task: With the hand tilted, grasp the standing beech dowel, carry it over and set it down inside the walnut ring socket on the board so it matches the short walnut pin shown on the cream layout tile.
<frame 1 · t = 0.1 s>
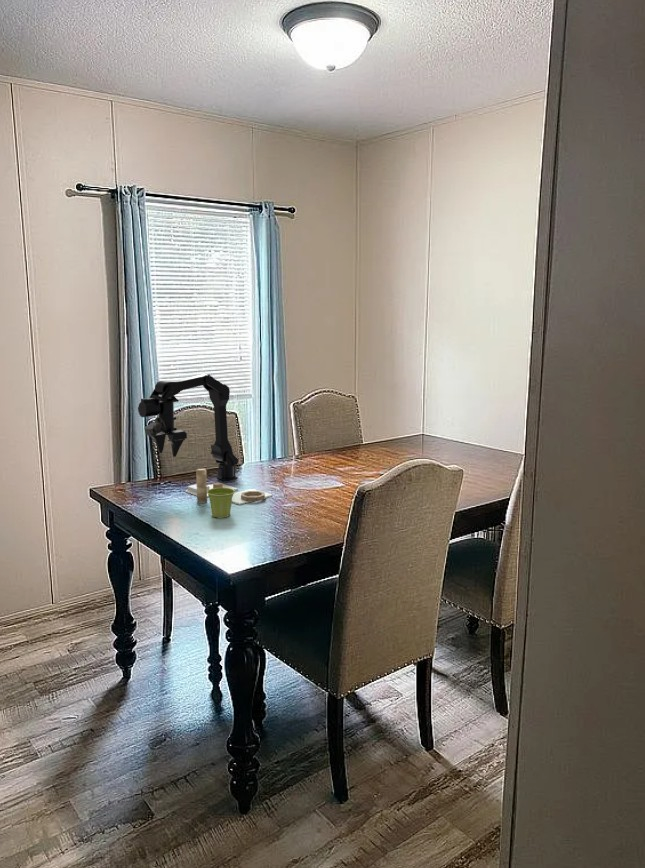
hand: (167, 454, 256), 15 cm above the table, tool pointing down, fingers open, 9 cm apart
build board: (252, 499, 250), on the table
dowel: (202, 501, 247), on the table
plant pot: (221, 516, 231), on the table
layout tile: (211, 491, 261), on the table
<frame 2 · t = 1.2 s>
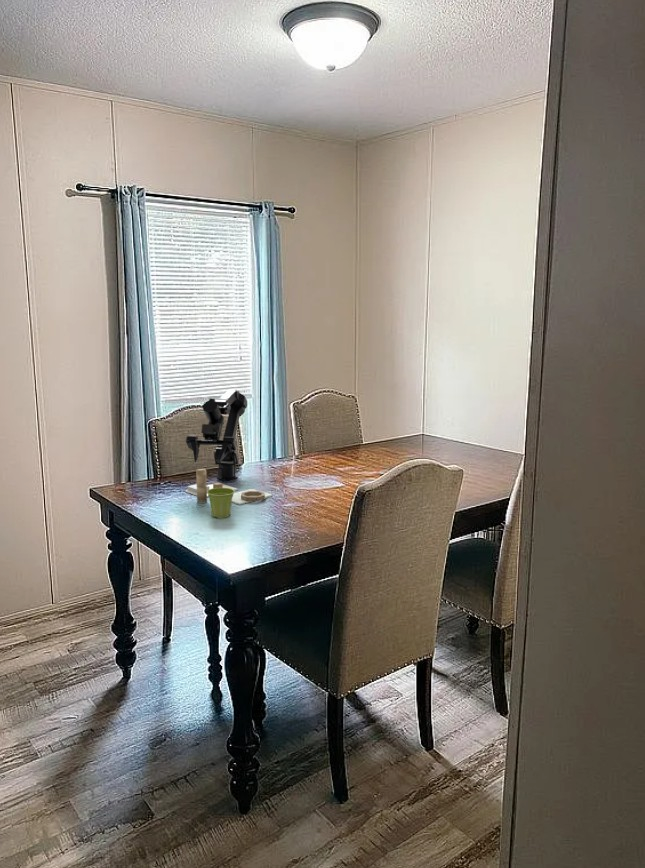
hand: (207, 461, 252), 13 cm above the table, tool tilted 45°, fingers open, 9 cm apart
nothing on the table moved.
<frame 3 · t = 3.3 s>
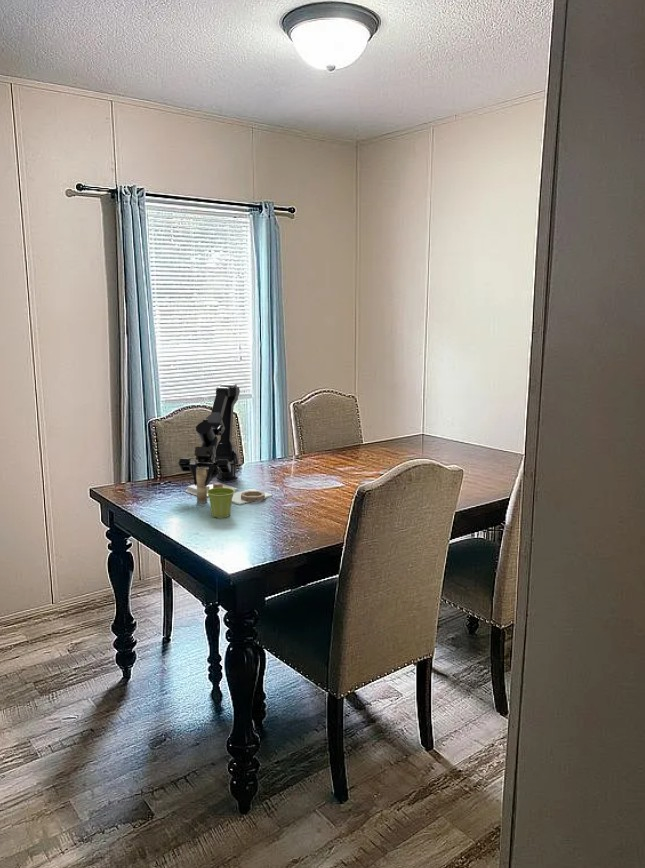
hand: (200, 485, 244), 7 cm above the table, tool tilted 45°, fingers closed on dowel, 4 cm apart
dowel: (202, 501, 247), on the table, touching gripper
everything else where it was.
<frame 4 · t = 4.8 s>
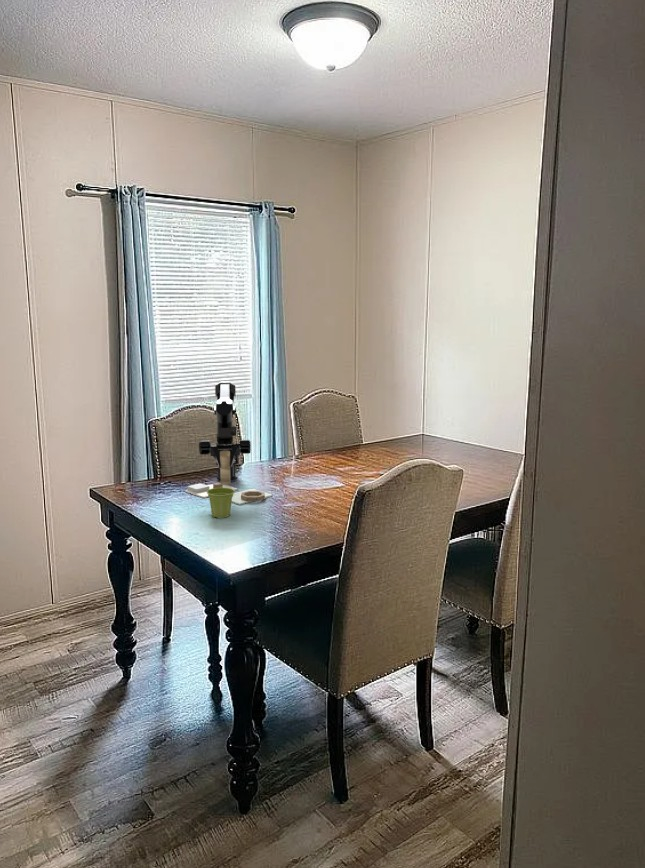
hand: (225, 466, 243), 13 cm above the table, tool tilted 45°, fingers closed on dowel, 4 cm apart
dowel: (225, 483, 245), point 7 cm above the table, touching gripper
everything else where it was.
when the fingers open (9 cm above the table, at t = 6.5 s): dowel drops 2 cm, resting on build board.
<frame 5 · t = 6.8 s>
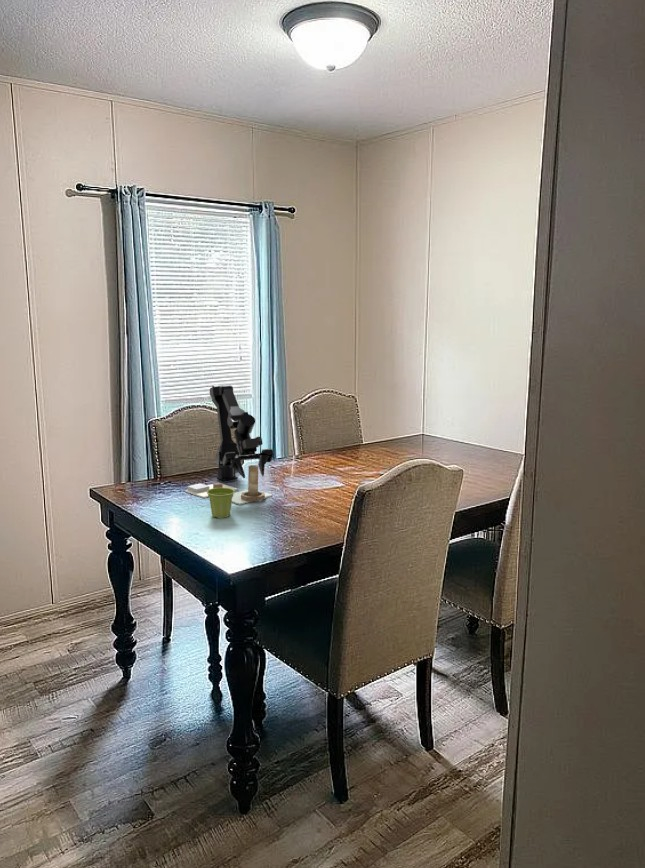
hand: (253, 476, 247), 9 cm above the table, tool tilted 45°, fingers open, 7 cm apart
dowel: (252, 497, 250), point 1 cm above the table, touching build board
everything else where it was.
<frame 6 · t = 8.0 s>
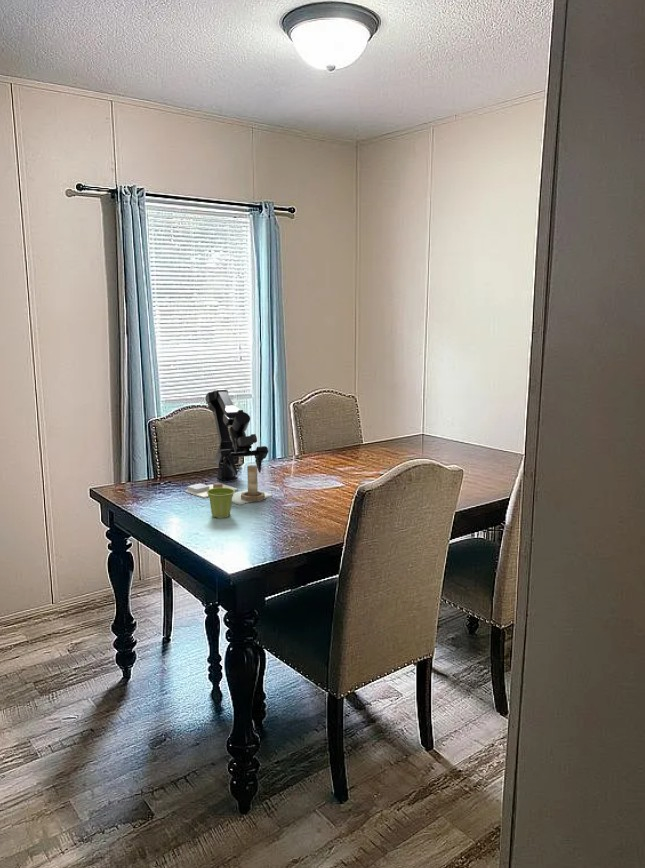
hand: (248, 473, 252), 9 cm above the table, tool tilted 45°, fingers open, 9 cm apart
nothing on the table moved.
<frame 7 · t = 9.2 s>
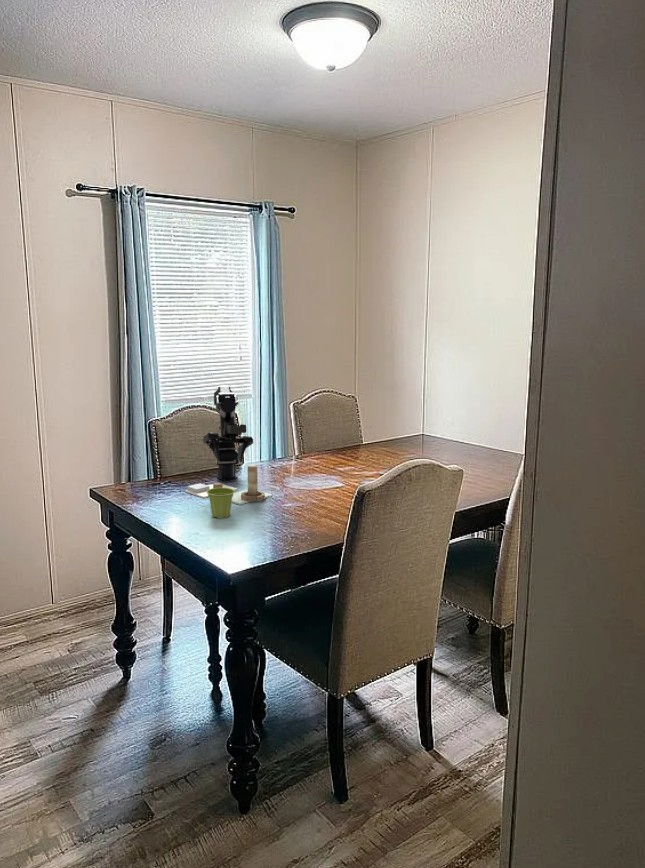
hand: (229, 461, 255), 13 cm above the table, tool tilted 30°, fingers open, 9 cm apart
nothing on the table moved.
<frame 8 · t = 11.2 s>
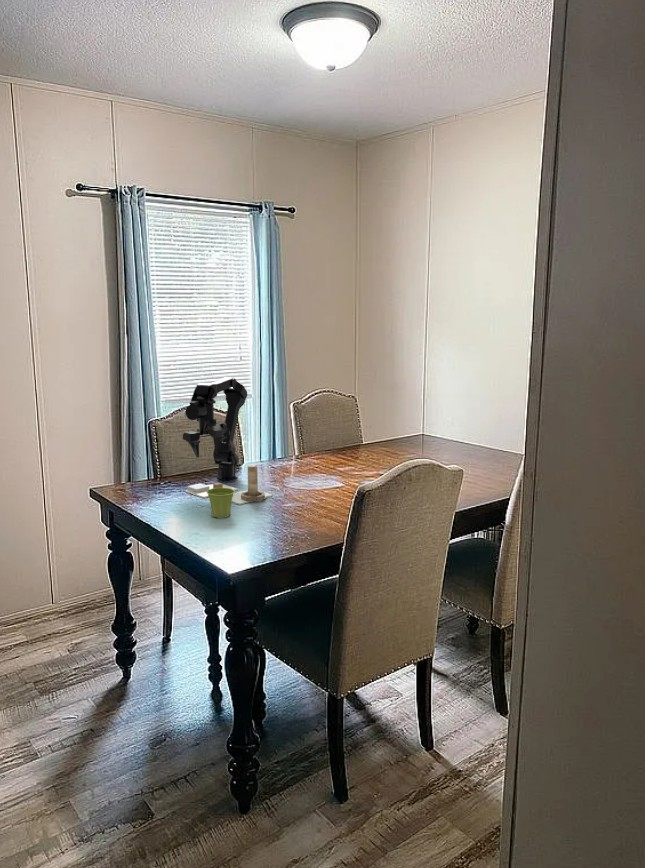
hand: (207, 455, 263), 13 cm above the table, tool pointing down, fingers open, 9 cm apart
nothing on the table moved.
at the end: dowel 0.0 cm from the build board (horizontally); dowel tilted 0°; dowel point 0.6 cm above the table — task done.
